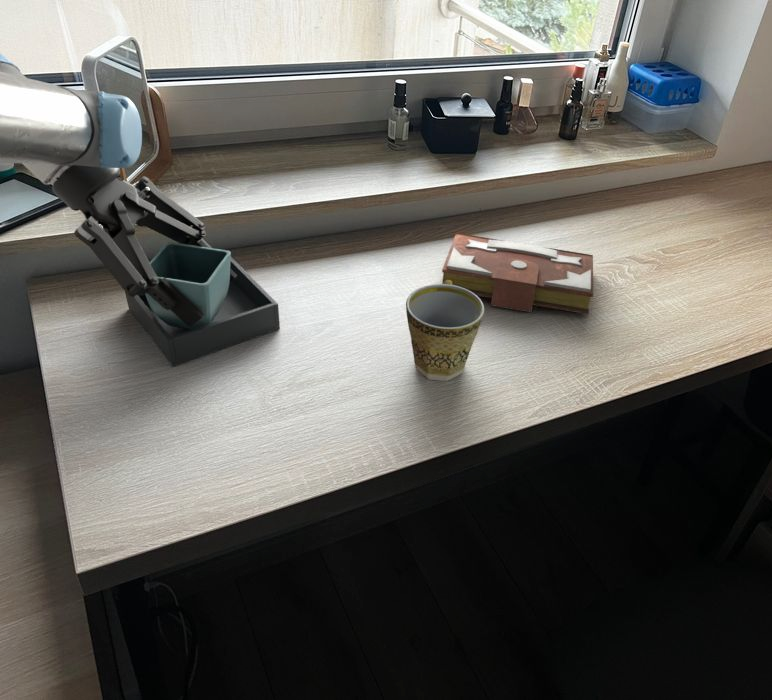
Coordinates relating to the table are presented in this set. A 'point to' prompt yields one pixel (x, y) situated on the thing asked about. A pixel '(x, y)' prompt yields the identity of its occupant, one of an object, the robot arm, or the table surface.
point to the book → (520, 274)
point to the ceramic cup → (442, 328)
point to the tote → (229, 327)
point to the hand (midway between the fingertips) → (214, 300)
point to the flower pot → (192, 279)
